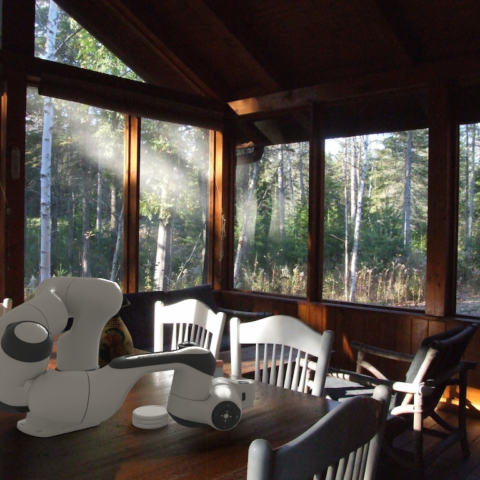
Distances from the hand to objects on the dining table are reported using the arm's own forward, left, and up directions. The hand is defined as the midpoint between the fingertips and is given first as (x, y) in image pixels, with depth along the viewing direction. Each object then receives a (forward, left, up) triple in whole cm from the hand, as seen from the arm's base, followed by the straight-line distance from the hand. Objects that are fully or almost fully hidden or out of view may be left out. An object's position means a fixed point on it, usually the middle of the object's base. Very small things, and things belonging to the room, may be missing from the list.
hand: (217, 381), depth 152 cm
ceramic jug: (+10, +60, -10) cm, 62 cm away
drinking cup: (+17, +27, -10) cm, 34 cm away
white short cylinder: (-17, +9, -10) cm, 22 cm away
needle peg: (-1, -1, -8) cm, 8 cm away
